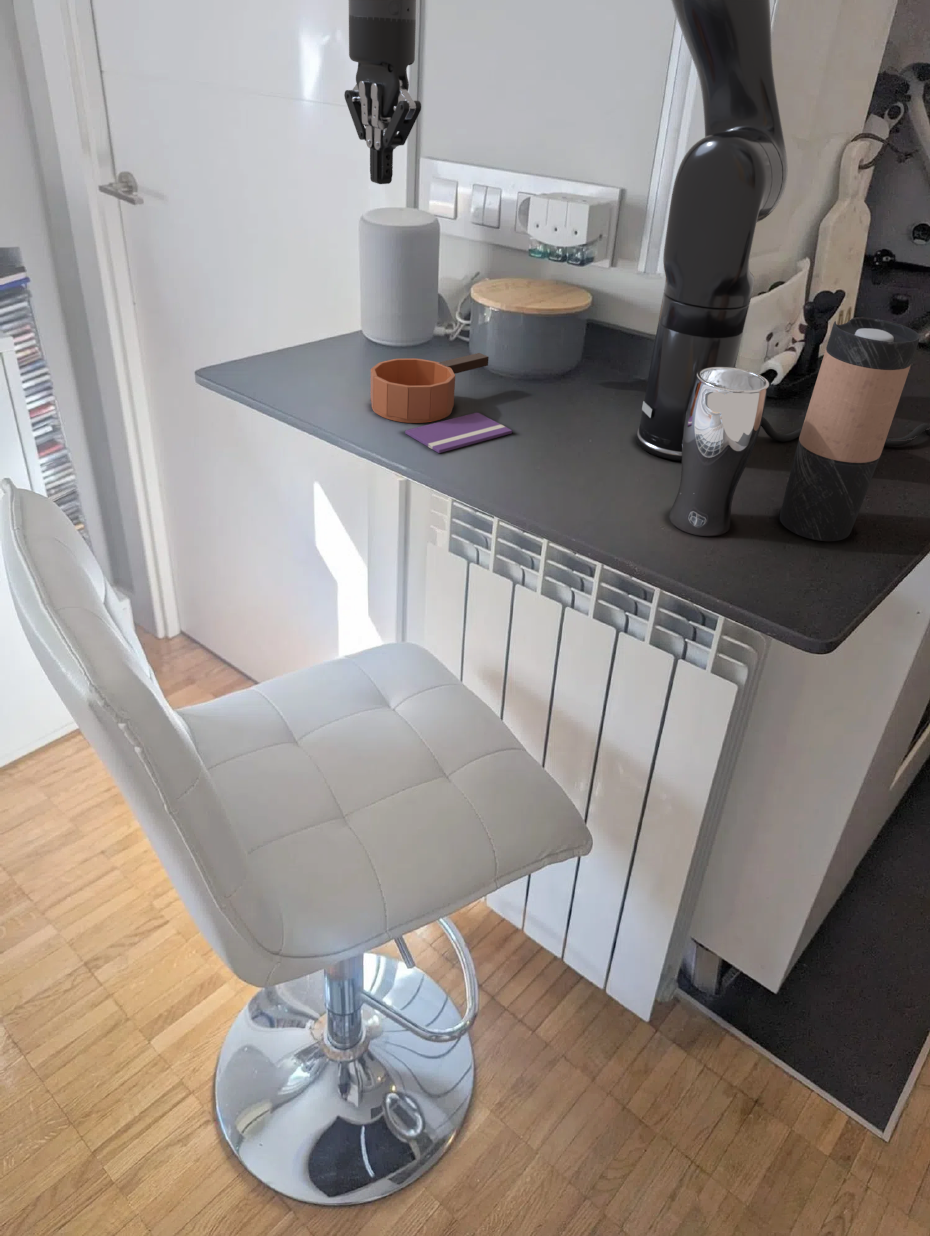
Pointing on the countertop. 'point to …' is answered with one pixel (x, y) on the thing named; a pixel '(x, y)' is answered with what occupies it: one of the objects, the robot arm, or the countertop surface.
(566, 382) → the countertop surface
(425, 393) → the pan
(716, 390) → the beer glass
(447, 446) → the towel
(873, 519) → the countertop surface
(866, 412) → the travel mug
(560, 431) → the countertop surface
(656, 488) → the countertop surface
